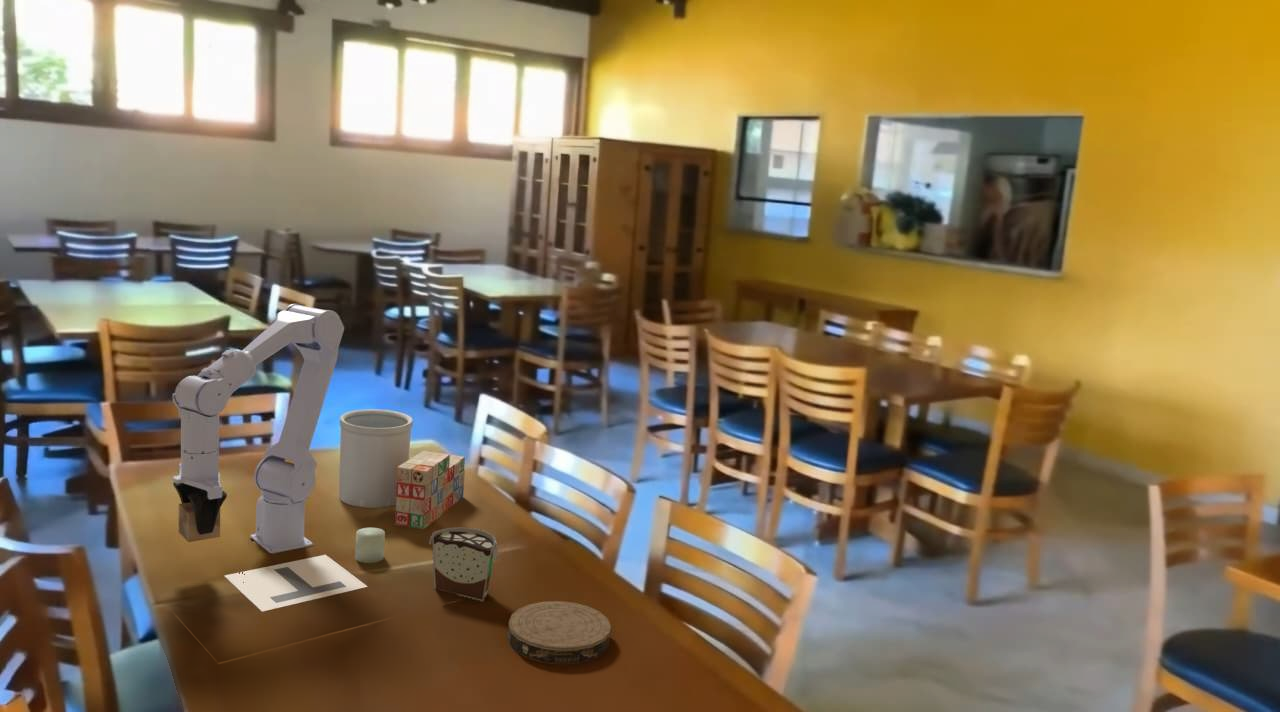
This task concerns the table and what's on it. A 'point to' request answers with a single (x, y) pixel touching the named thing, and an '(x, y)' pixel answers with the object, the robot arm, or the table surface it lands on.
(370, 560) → the sage cylinder
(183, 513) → the wooden cube
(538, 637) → the beige round flat disc
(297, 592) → the board
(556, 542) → the table surface
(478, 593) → the food container
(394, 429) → the utensil holder
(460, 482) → the stack of blocks
